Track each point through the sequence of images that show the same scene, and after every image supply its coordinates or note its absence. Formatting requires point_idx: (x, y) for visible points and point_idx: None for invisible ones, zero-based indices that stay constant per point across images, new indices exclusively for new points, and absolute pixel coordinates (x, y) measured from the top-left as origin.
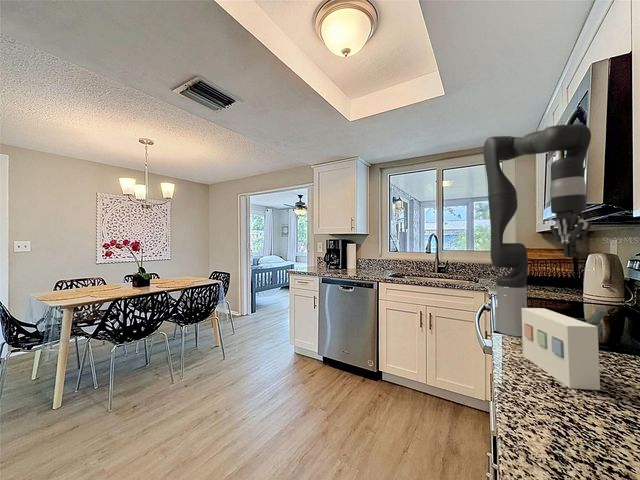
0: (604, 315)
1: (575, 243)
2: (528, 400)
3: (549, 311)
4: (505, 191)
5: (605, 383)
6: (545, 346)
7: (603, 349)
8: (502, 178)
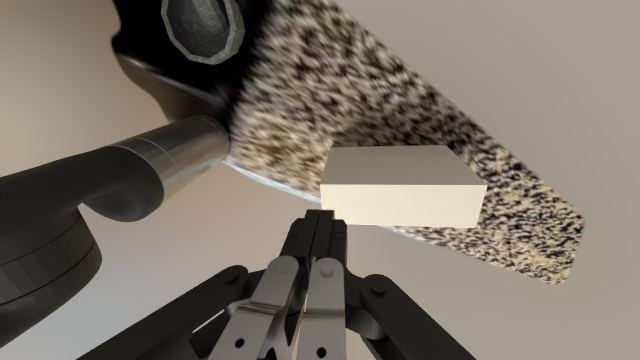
0: None
1: (346, 272)
2: (466, 232)
3: (353, 191)
4: None
5: (425, 123)
6: None
7: (263, 9)
8: None
